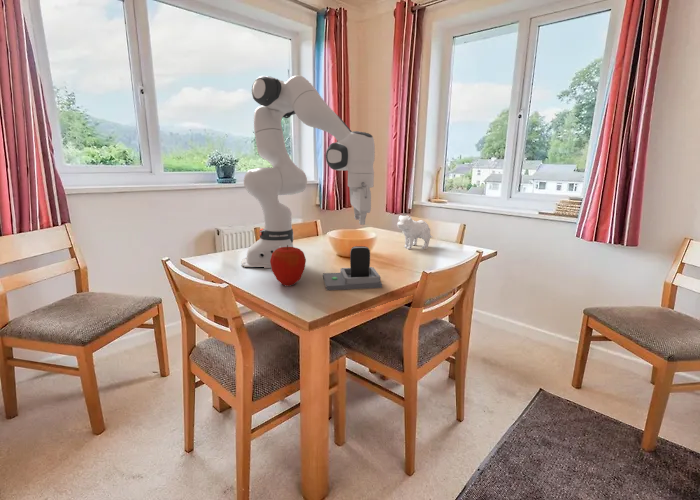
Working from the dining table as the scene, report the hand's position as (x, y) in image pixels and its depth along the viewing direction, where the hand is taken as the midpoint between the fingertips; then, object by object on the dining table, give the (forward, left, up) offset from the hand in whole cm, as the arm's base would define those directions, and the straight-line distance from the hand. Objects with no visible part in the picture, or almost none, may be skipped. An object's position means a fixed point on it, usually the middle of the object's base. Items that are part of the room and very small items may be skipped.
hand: (359, 221), depth 126 cm
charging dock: (-3, -2, -21) cm, 22 cm away
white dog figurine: (+37, +46, -22) cm, 63 cm away
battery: (0, -2, -20) cm, 20 cm away
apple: (-25, -1, -22) cm, 33 cm away
